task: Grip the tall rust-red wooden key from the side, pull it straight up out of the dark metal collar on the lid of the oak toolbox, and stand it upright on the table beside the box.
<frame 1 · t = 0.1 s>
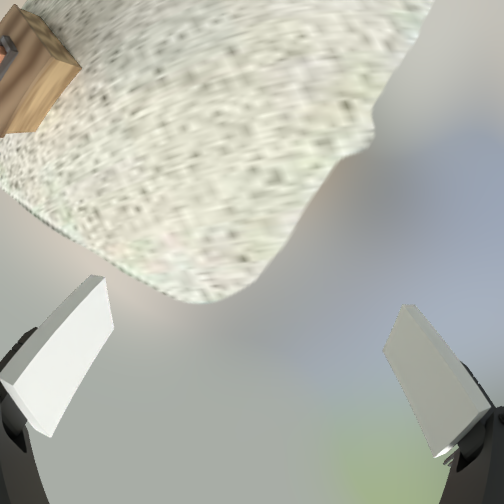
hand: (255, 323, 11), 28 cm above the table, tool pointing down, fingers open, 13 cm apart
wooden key: (2, 61, 18), point 9 cm above the table, touching toolbox
toolbox: (33, 67, 27), on the table
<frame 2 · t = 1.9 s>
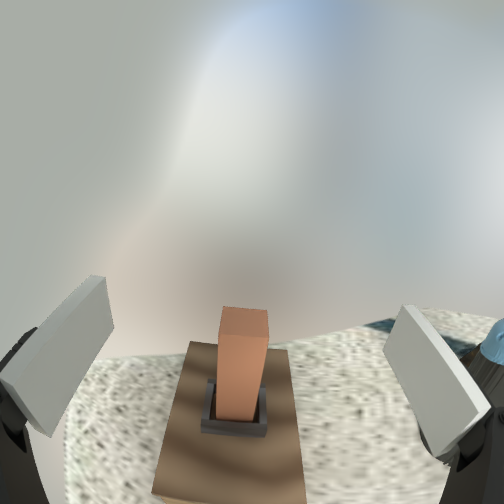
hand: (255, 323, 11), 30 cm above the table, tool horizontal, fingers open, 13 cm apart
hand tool: (466, 363, 46), on the table
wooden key: (234, 412, 28), point 9 cm above the table, touching toolbox
toolbox: (230, 443, 31), on the table
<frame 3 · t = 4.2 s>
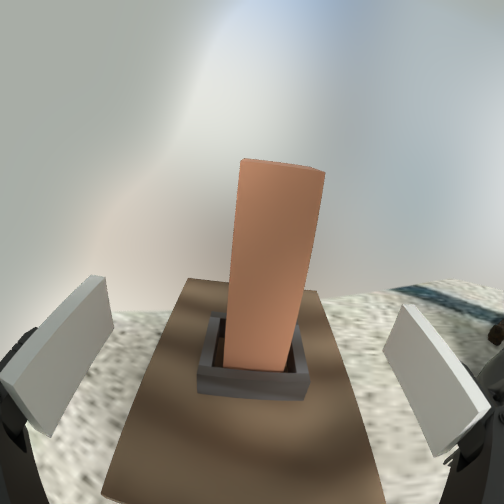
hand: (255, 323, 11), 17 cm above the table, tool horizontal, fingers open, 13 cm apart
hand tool: (501, 331, 37), on the table
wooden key: (251, 363, 19), point 9 cm above the table, touching toolbox
toolbox: (241, 423, 22), on the table
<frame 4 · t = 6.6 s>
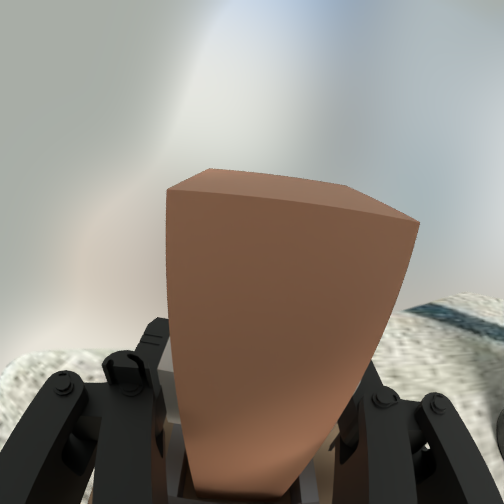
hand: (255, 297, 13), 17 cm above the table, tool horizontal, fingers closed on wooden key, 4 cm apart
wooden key: (238, 470, 11), point 9 cm above the table, touching gripper, toolbox
toolbox: (230, 503, 14), on the table
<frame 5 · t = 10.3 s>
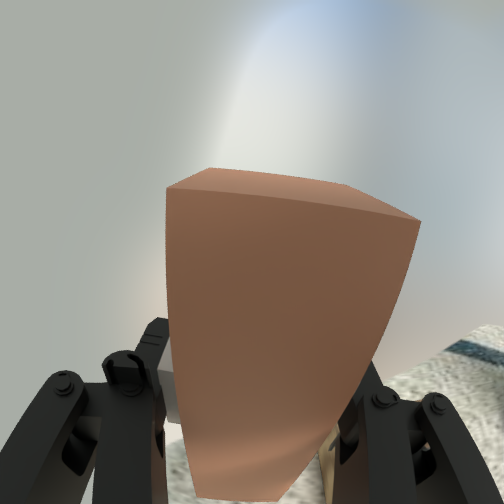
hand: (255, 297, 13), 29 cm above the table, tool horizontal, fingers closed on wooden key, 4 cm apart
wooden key: (238, 470, 11), point 21 cm above the table, touching gripper
when the fingers open (9 cm above the table, at t = 14.0 s): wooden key drops 1 cm, on the table.
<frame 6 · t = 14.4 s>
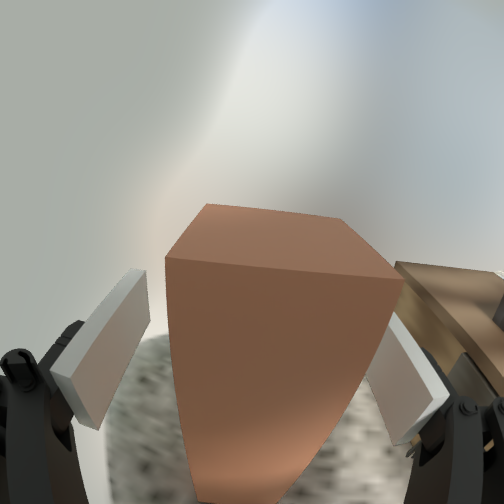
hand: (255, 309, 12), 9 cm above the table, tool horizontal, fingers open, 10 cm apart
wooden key: (237, 476, 11), on the table
toolbox: (475, 429, 12), on the table
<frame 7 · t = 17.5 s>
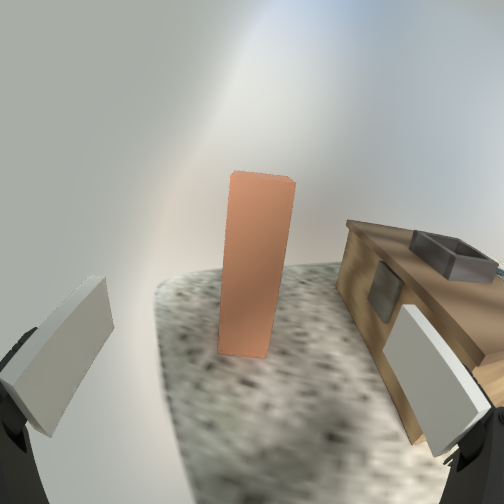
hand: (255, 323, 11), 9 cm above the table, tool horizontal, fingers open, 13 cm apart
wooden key: (242, 340, 23), on the table
toolbox: (419, 341, 24), on the table
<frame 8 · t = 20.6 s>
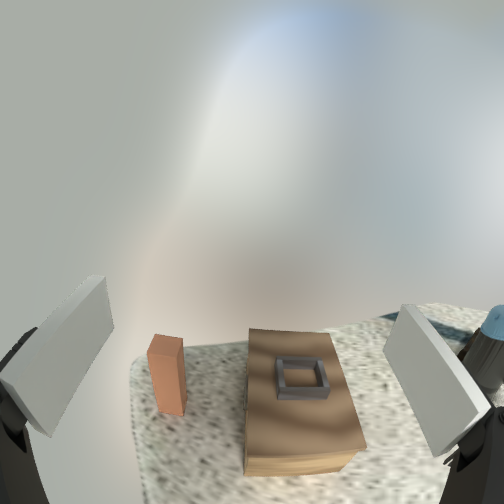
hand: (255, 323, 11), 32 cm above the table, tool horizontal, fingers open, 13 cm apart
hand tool: (467, 349, 55), on the table
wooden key: (173, 405, 38), on the table
toolbox: (287, 415, 39), on the table
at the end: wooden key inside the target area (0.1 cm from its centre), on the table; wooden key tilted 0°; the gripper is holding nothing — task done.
